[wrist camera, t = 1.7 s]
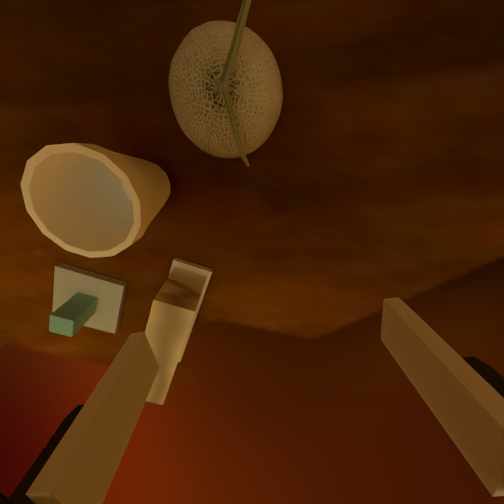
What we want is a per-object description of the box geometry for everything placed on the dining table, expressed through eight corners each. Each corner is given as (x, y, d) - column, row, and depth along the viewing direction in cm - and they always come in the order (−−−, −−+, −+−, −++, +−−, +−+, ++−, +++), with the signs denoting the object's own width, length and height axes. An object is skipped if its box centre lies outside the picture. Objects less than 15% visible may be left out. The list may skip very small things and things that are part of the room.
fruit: (208, 174, 31) (176, 192, 17) (172, 72, 26) (88, -17, 12) (285, 150, 30) (318, 148, 16) (261, 39, 25) (277, -98, 11)
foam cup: (174, 144, 29) (123, 138, 17) (188, 216, 33) (153, 253, 21) (100, 150, 29) (-2, 149, 17) (122, 221, 33) (50, 260, 21)
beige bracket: (149, 349, 43) (138, 371, 38) (175, 256, 35) (165, 270, 31) (181, 358, 43) (174, 379, 39) (212, 269, 36) (208, 284, 32)
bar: (142, 367, 38) (128, 397, 33) (167, 278, 32) (153, 299, 27) (172, 375, 39) (162, 404, 34) (202, 289, 32) (195, 311, 28)
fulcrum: (57, 312, 39) (21, 342, 33) (61, 262, 35) (21, 285, 29) (118, 328, 40) (95, 360, 34) (127, 282, 37) (103, 308, 31)
